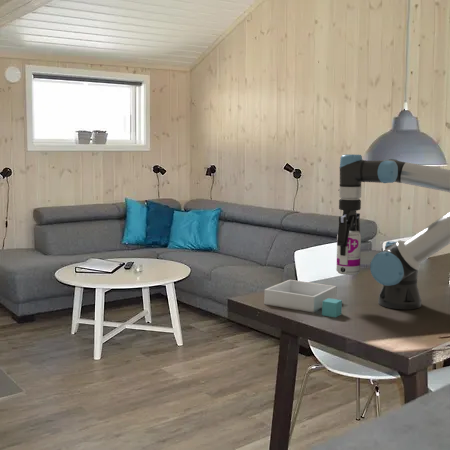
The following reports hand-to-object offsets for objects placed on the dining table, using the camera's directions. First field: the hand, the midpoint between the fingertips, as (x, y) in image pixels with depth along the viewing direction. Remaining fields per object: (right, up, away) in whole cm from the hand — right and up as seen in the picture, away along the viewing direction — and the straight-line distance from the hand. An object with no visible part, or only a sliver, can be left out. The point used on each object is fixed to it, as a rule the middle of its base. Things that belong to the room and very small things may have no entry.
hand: (348, 262), depth 225 cm
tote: (-16, -15, +8) cm, 23 cm away
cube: (-7, -18, -8) cm, 21 cm away
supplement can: (0, -4, 0) cm, 4 cm away
